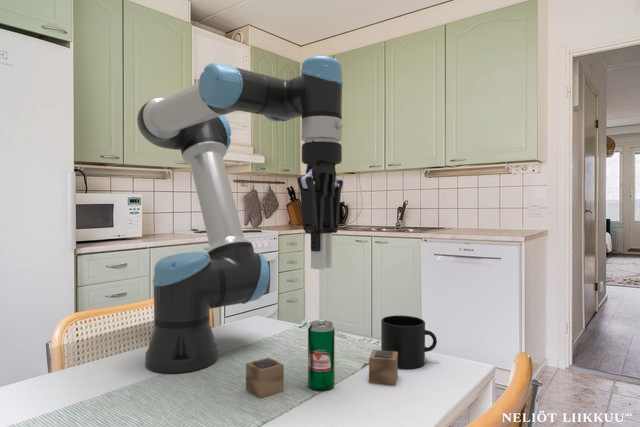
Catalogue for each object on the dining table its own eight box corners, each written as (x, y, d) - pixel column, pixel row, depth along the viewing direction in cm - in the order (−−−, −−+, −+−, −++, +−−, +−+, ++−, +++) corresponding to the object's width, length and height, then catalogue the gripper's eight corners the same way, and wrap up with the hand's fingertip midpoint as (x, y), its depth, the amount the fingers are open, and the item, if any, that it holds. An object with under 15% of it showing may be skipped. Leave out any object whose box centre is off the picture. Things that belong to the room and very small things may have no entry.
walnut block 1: (246, 390, 81) (246, 362, 81) (268, 383, 84) (268, 356, 84) (260, 399, 77) (260, 370, 77) (283, 391, 81) (283, 363, 81)
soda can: (304, 390, 81) (305, 325, 81) (311, 379, 86) (311, 318, 86) (331, 392, 80) (331, 327, 80) (336, 382, 85) (336, 320, 85)
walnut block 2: (369, 383, 84) (369, 356, 84) (372, 373, 89) (373, 348, 89) (395, 386, 83) (395, 359, 83) (397, 376, 88) (397, 350, 88)
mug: (440, 371, 91) (440, 327, 91) (382, 368, 92) (382, 325, 92) (433, 355, 100) (433, 316, 100) (380, 353, 101) (380, 314, 101)
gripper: (318, 135, 74) (318, 274, 74) (356, 146, 87) (356, 264, 87) (282, 139, 78) (282, 271, 78) (324, 148, 90) (323, 262, 91)
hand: (321, 267), depth 83 cm, fingers open, 2 cm apart
